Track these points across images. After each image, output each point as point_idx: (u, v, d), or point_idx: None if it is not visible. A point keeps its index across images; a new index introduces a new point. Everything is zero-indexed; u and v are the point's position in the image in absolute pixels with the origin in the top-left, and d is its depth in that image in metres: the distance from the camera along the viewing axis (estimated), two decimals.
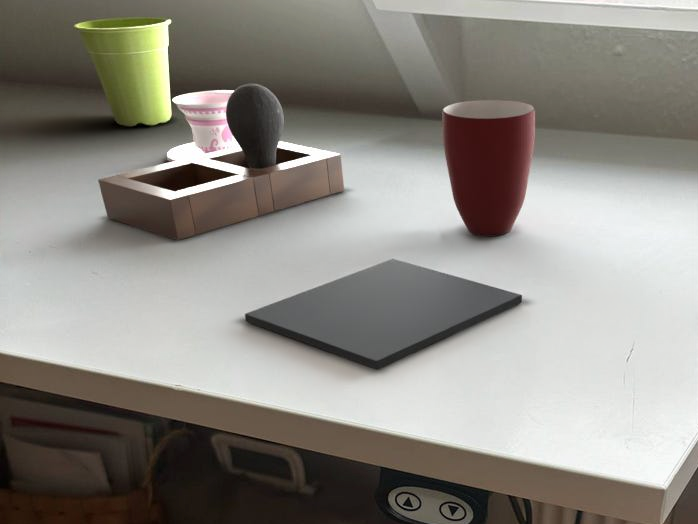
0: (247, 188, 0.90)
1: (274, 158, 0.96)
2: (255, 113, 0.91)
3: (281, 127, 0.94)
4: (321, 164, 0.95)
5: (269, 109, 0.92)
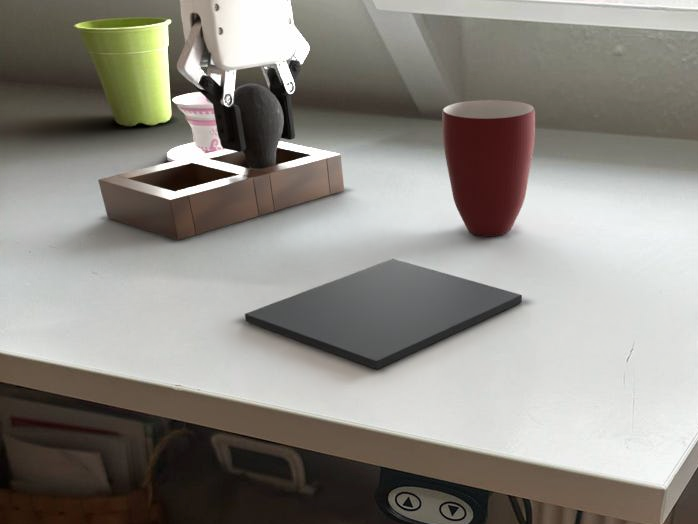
0: (247, 188, 0.90)
1: (274, 158, 0.96)
2: (255, 113, 0.91)
3: (281, 127, 0.94)
4: (321, 164, 0.95)
5: (269, 109, 0.91)
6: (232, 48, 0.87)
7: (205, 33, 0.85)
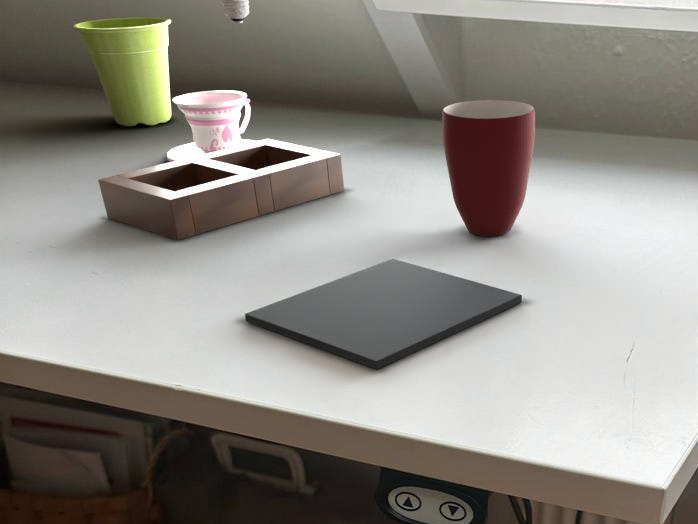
0: (247, 188, 0.90)
1: None
2: None
3: None
4: (321, 164, 0.95)
5: None
6: None
7: None
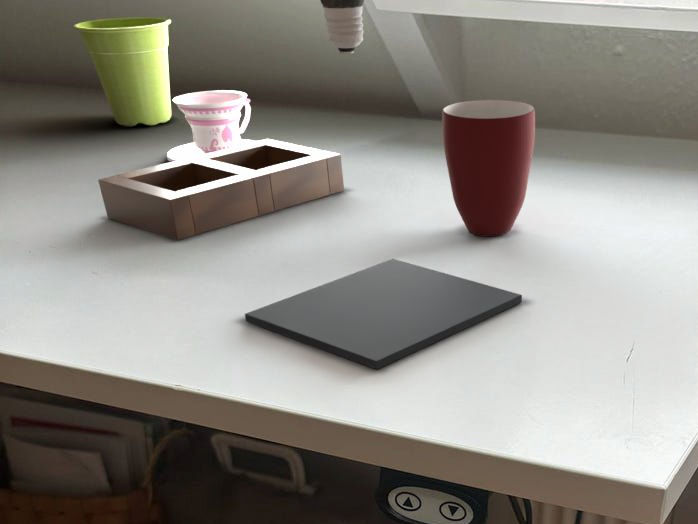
0: (247, 188, 0.90)
1: None
2: None
3: None
4: (321, 164, 0.95)
5: None
6: None
7: None
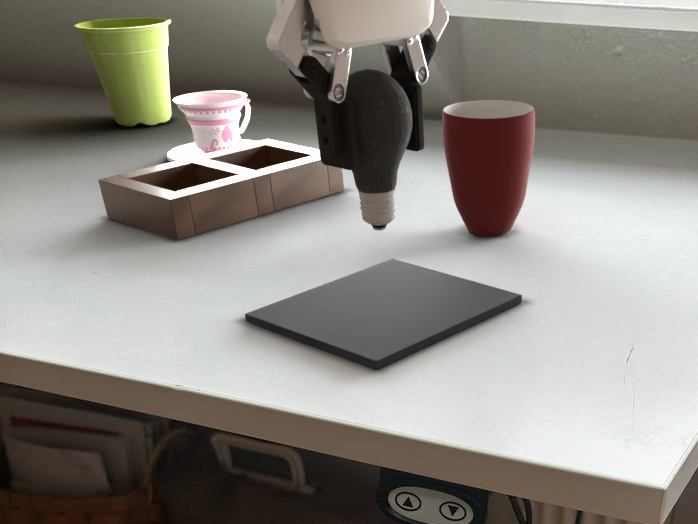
0: (247, 188, 0.90)
1: (395, 178, 0.66)
2: (376, 113, 0.61)
3: (409, 133, 0.64)
4: (321, 164, 0.95)
5: (396, 107, 0.62)
6: (350, 14, 0.57)
7: None
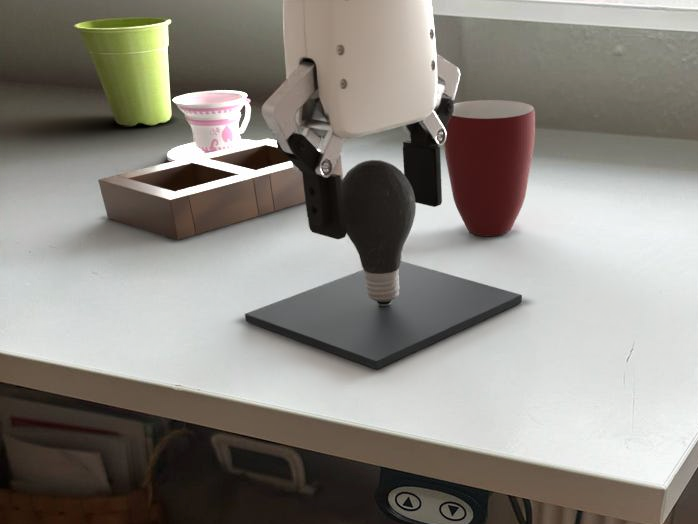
0: (247, 188, 0.90)
1: (399, 259, 0.69)
2: (382, 203, 0.65)
3: (413, 219, 0.67)
4: None
5: (401, 196, 0.65)
6: (358, 107, 0.60)
7: (322, 87, 0.58)
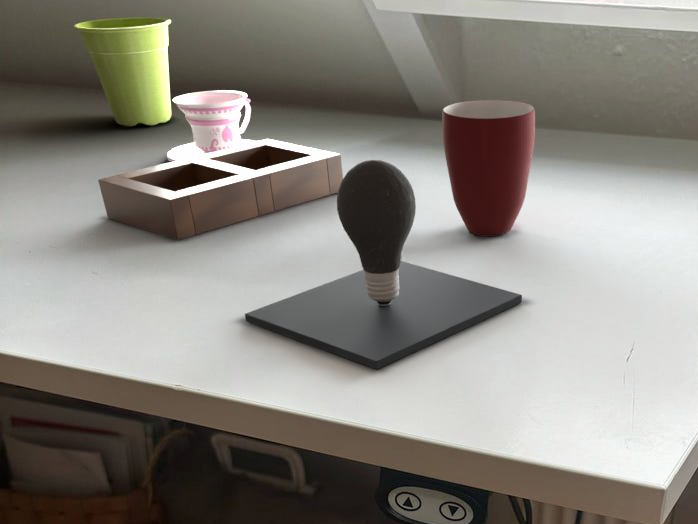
0: (247, 188, 0.90)
1: (399, 259, 0.69)
2: (382, 203, 0.65)
3: (413, 219, 0.67)
4: (321, 164, 0.95)
5: (400, 196, 0.65)
6: None
7: None
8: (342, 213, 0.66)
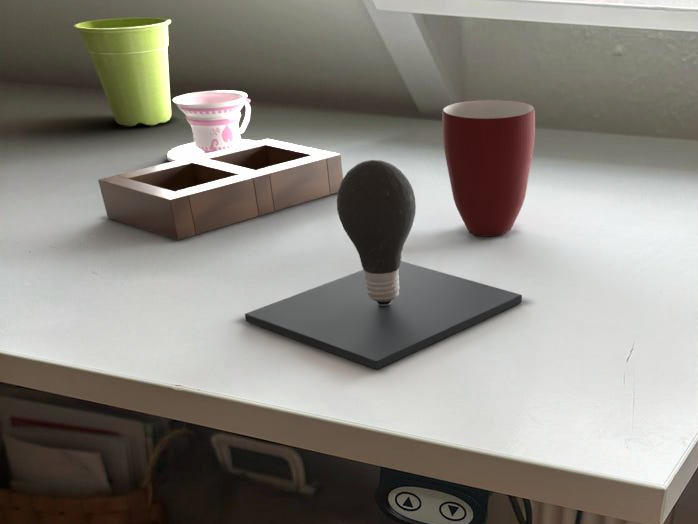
0: (247, 188, 0.90)
1: (399, 259, 0.69)
2: (382, 203, 0.65)
3: (413, 219, 0.67)
4: (321, 164, 0.95)
5: (400, 196, 0.65)
6: None
7: None
8: (342, 213, 0.66)
